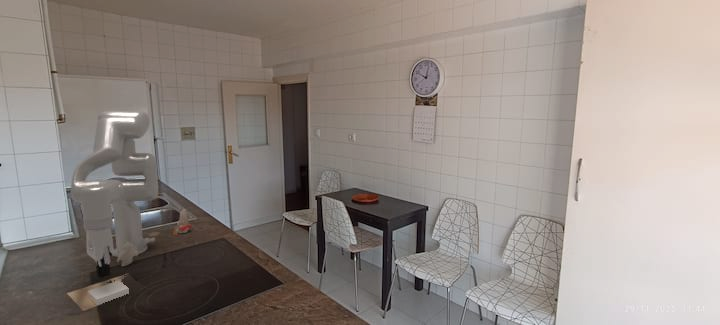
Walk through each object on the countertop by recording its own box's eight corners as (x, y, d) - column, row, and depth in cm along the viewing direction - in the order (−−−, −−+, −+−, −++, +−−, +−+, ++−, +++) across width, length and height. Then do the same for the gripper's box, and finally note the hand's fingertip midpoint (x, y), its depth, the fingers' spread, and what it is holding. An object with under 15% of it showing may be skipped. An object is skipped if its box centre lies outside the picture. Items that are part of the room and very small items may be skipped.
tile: (119, 280, 120) (128, 288, 116) (119, 286, 121) (129, 294, 116) (87, 291, 113) (96, 299, 109) (88, 297, 114) (97, 305, 109)
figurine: (182, 228, 179) (184, 206, 177) (193, 231, 177) (195, 209, 175) (168, 233, 170) (170, 210, 168) (180, 237, 168) (182, 213, 167)
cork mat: (128, 274, 130) (128, 273, 130) (147, 288, 121) (147, 287, 121) (67, 294, 116) (67, 293, 116) (83, 312, 106) (83, 310, 106)
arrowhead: (119, 270, 133) (117, 245, 131) (115, 269, 134) (113, 244, 132) (140, 262, 140) (138, 239, 138) (136, 261, 141) (134, 237, 139)
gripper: (76, 220, 114) (82, 273, 117) (92, 231, 105) (98, 287, 108) (103, 215, 120) (108, 265, 123) (121, 225, 111) (125, 278, 114)
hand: (103, 275), depth 116 cm, fingers closed
